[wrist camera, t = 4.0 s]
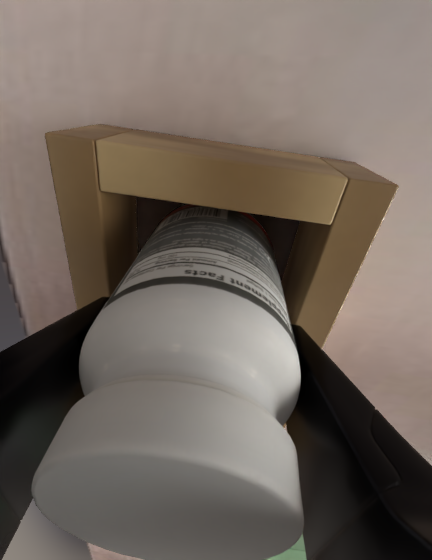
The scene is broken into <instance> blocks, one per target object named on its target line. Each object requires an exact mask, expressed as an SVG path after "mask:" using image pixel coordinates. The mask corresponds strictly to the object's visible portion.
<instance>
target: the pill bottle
mask: <svg viewBox="0 0 432 560" xmlns="http://www.w3.org/2000/svg"><path fill="white" fill-rule="evenodd" d="M79 377H80V382H81V386H82V390H83V393H84V395H85V397H83V398H82V399H81V400H79V401H78V402H77V403H76V404H75V405H74V406H73V407H72V408H71V409H70V411H69V412H68V414H67V415H66V416H65V418H64V421H63V422H62V424H61V426H60V428H59V430H58V431H57V433H56V435H55V437H54V439H53V441H52V442H51V444H50V446H49V448H48V450H47V452H46V454H45V455H44V457H43V459H42V461H41V463H40V465H39V467H38V468H37V470H36V472H35V475H34V477H33V481H32V488H31V492H32V496H33V499H34V501H35V504H36V506H37V507H38V508H39V510H40V511H41V512H42V513H43V514H44V515H45V516H46V517H47V518H48V519H49V520H50V521H51V522H53V523H54V524H55V525H57V526H58V527H60V528H61V529H63V530H65V531H66V532H68V533H70V534H72V535H74V536H75V537H77V538H79V539H81V540H84V541H86V542H88V543H91V544H93V545H96V546H99V547H101V548H104V549H106V550H109V551H113V552H116V553H119V554H123V555H127V556H131V557H136V558H141V559H145V560H263V559H267V558H270V557H273V556H276V555H279V554H281V553H283V552H285V551H286V550H288V549H289V548H291V547H292V546H293V545H294V544H295V543H296V542H297V541H298V540H299V538H300V537H301V535H302V532H303V527H304V514H303V506H302V498H301V489H300V480H299V468H298V458H297V451H296V448H295V445H294V443H293V441H292V439H291V437H290V435H289V434H288V433H287V431H286V430H285V429H284V427H283V425H284V424H285V422H286V421H287V420H288V418H289V417H290V415H291V413H292V412H293V410H294V408H295V406H296V403H297V400H298V397H299V392H300V385H301V371H300V364H299V357H298V352H297V347H296V343H295V339H294V335H293V330H292V326H291V322H290V318H289V314H288V310H287V306H286V302H285V298H284V293H283V289H282V285H281V281H280V276H279V272H278V268H277V264H276V260H275V255H274V251H273V247H272V244H271V242H270V239H269V237H268V235H267V233H266V231H265V230H264V228H263V227H262V225H261V224H260V223H259V222H258V221H257V220H256V219H255V218H254V217H253V216H252V215H250V214H249V213H246V212H239V211H232V210H225V209H219V208H212V207H205V206H199V205H192V204H186V205H183V206H181V207H179V208H177V209H175V210H174V211H172V212H171V213H170V214H168V215H167V216H166V217H165V218H164V219H163V220H162V221H161V222H160V223H159V225H158V226H157V228H156V229H155V230H154V232H153V233H152V235H151V236H150V238H149V239H148V241H147V242H146V244H145V245H144V247H143V248H142V250H141V251H140V253H139V255H138V256H137V258H136V259H135V261H134V262H133V264H132V265H131V267H130V268H129V270H128V271H127V273H126V274H125V276H124V277H123V279H122V280H121V282H120V283H119V285H118V286H117V288H116V289H115V291H114V292H113V294H112V295H111V297H110V298H109V300H108V301H107V302H106V304H105V306H104V307H103V309H102V310H101V312H100V313H99V315H98V316H97V318H96V319H95V321H94V322H93V324H92V326H91V328H90V329H89V331H88V333H87V335H86V337H85V340H84V342H83V345H82V348H81V352H80V357H79Z"/></svg>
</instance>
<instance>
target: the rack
mask: <svg viewBox="0 0 432 560" xmlns="http://www.w3.org/2000/svg"><path fill="white" fill-rule="evenodd" d="M45 139H46V144H47V150H48V155H49V161H50V166H51V171H52V177H53V182H54V188H55V193H56V199H57V204H58V209H59V215H60V220H61V226H62V231H63V236H64V242H65V247H66V253H67V258H68V264H69V269H70V274H71V280H72V285H73V291H74V296H75V301H76V307H77V310H79V309H80V308H82V307H84V306H86V305H88V304H90V303H91V302H93V301H95V300H97V299H99V298H101V297H111V295H112V294H113V292H114V291H115V289H116V288H117V286H118V285H119V283H120V282H121V280H122V279H123V277H124V276H125V274H126V273H127V271H128V270H129V268H130V267H131V265H132V264H133V262H134V261H135V259H136V258H137V256H138V243H137V208H136V196H138V197H145V198H151V199H158V200H165V201H172V202H178V203H185V204H192V205H199V206H205V207H212V208H219V209H225V210H232V211H239V212H246V213H252V214H259V215H266V216H273V217H279V218H286V219H293V220H299V221H300V223H299V226H298V229H297V233H296V236H295V239H294V242H293V246H292V249H291V252H290V255H289V259H288V262H287V265H286V269H285V272H284V275H283V278H282V282H281V285H282V289H283V293H284V298H285V302H286V306H287V310H288V314H289V318H290V322H291V324H295V325H300V326H301V327H302V328H303V329H304V330H305V331H306V332H307V333H308V335H309V336H310V337H311V338H312V339H313V340H314V341H315V342H316V343H317V344H318V346H319V347H320V348H321V349H322V348H323V346H324V344H325V342H326V339H327V337H328V335H329V333H330V331H331V329H332V327H333V325H334V323H335V320H336V318H337V316H338V314H339V312H340V310H341V308H342V306H343V304H344V302H345V299H346V297H347V295H348V293H349V291H350V289H351V287H352V285H353V283H354V280H355V278H356V276H357V274H358V272H359V270H360V268H361V266H362V264H363V261H364V259H365V257H366V255H367V253H368V251H369V249H370V247H371V245H372V243H373V240H374V238H375V236H376V234H377V232H378V230H379V228H380V226H381V224H382V221H383V219H384V217H385V215H386V213H387V211H388V209H389V207H390V205H391V202H392V200H393V198H394V196H395V194H396V192H397V190H398V188H399V186H398V185H397V184H395V183H393V182H391V181H389V180H387V179H385V178H384V177H382V176H380V175H378V174H376V173H374V172H372V171H370V170H368V169H367V168H365V167H363V166H361V165H359V164H357V163H355V162H350V161H343V160H337V159H330V158H323V157H320V158H319V157H316V156H309V155H303V154H296V153H289V152H283V151H276V150H270V149H263V148H256V147H250V146H243V145H236V144H230V143H223V142H216V141H210V140H203V139H196V138H190V137H183V136H176V135H170V134H163V133H157V132H150V131H143V130H133V129H130V128H123V127H116V126H110V125H103V124H96V125H90V126H84V127H77V128H71V129H65V130H59V131H52V132H47V133H45ZM285 426H286V422H285V424H284V425H283V427H284V428H285Z"/></svg>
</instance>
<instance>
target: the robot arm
mask: <svg viewBox="0 0 432 560" xmlns="http://www.w3.org/2000/svg"><path fill="white" fill-rule="evenodd" d="M109 298H110V297H101V298H99V299H97V300H95V301H93V302H91V303H90V304H88V305H86V306H84V307H82V308H80V309H79V310H77V311H75V312H73V313H71V314H69V315H67V316H66V317H64V318H62V319H60V320H58V321H56V322H55V323H53V324H51V325H49V326H47V327H45V328H44V329H42V330H40V331H38V332H36V333H34V334H33V335H31V336H29V337H27V338H25V339H24V340H22V341H20V342H18V343H16V344H14V345H12V346H11V347H9V348H7V349H5V350H3V351H1V352H0V560H2V558H3V556H4V554H5V552H6V550H7V548H8V546H9V544H10V542H11V540H12V538H13V536H14V534H15V532H16V531H17V529H18V527H19V524H20V522H21V521H20V520H22V518H23V516H24V515H25V512H26V510H27V509H28V507H29V505H30V503H31V501H32V499H33V496H32V492H31V488H32V481H33V477H34V475H35V472H36V470H37V468H38V467H39V465H40V463H41V461H42V459H43V457H44V455H45V454H46V452H47V450H48V448H49V446H50V444H51V442H52V441H53V439H54V437H55V435H56V433H57V431H58V430H59V428H60V426H61V424H62V422H63V421H64V418H65V416H66V415H67V414H68V412H69V411H70V409H71V408H72V407H73V406H74V405H75V404H76V403H77V402H78V401H79V400H81V399H82V398H83V397H85V395H84V393H83V390H82V386H81V382H80V377H79V357H80V352H81V348H82V345H83V342H84V340H85V337H86V335H87V333H88V331H89V329H90V328H91V326H92V324H93V322H94V321H95V319H96V318H97V316H98V315H99V313H100V312H101V310H102V309H103V307H104V306H105V304H106V302H107V301H108V300H109ZM291 326H292V330H293V335H294V339H295V343H296V347H297V352H298V357H299V364H300V371H301V385H300V392H299V397H298V400H297V403H296V406H295V408H294V410H293V412H292V413H291V415H290V417H289V418H288V420H287V421H286V425H287V432H288V434H289V435H290V437H291V439H292V441H293V443H294V445H295V448H296V451H297V458H298V468H299V480H300V489H301V498H302V506H303V514H304V527H303V539H304V546H305V552H306V559H307V560H432V466H431V465H430V464H429V463H428V462H427V461H426V460H425V459H424V458H423V457H422V456H421V455H420V454H419V453H418V452H417V451H416V450H415V449H414V448H413V447H412V446H411V445H410V444H409V443H408V442H407V441H406V440H405V439H404V438H403V437H402V436H401V435H400V434H399V433H398V432H397V431H396V430H395V429H394V427H393V426H392V425H391V424H390V423H389V422H388V421H387V420H386V419H385V418H384V417H383V416H382V415H381V413H380V412H379V411H378V410H375V407H374V406H373V405H372V404H371V403H370V402H369V400H368V399H367V398H366V397H365V396H364V395H363V394H362V393H361V392H360V391H359V389H358V388H357V387H356V386H355V385H354V384H353V383H352V382H351V381H350V380H349V378H348V377H347V376H346V375H345V374H344V373H343V372H342V371H341V370H340V369H339V367H338V366H337V365H336V364H335V363H334V362H333V361H332V360H331V359H330V358H329V357H328V355H327V354H326V353H325V352H324V351H323V350H322V349H321V348H320V347H319V346H318V344H317V343H316V342H315V341H314V340H313V339H312V338H311V337H310V336H309V335H308V333H307V332H306V331H305V330H304V329H303V328H302V327H301V326H300V325H295V324H291Z"/></svg>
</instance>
